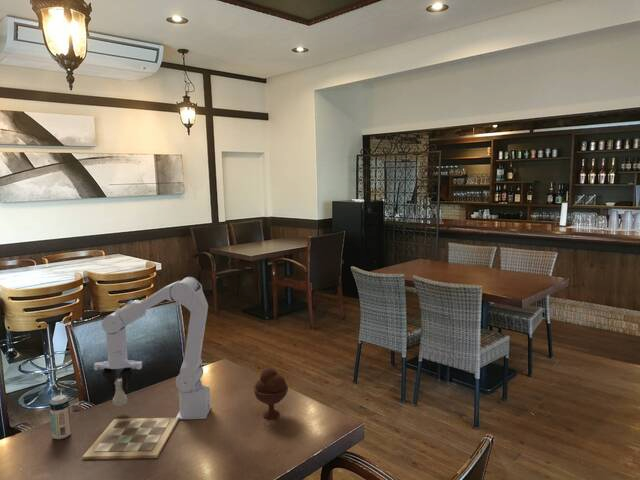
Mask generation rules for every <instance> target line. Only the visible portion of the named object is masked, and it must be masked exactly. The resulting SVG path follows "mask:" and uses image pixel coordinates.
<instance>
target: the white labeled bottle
mask: <svg viewBox="0 0 640 480" xmlns="http://www.w3.org/2000/svg"><path fill="white" fill-rule="evenodd" d="M49 411H50V412H49V413H50V423H51V434H52V435H51V436H52V438H53V439H55V440H64V439H65V438H68V436H70V435H71V434H72V426H71V425H72V424H71V414H70V402H69V397H68V396H67V395H66V394H62V393H61V394H56V395H55V396H52V397H51V399H50V401H49Z"/></svg>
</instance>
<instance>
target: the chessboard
mask: <svg viewBox="0 0 640 480" xmlns="http://www.w3.org/2000/svg"><path fill="white" fill-rule="evenodd" d="M179 420H180V419H179V418H176V417H149V418H148V417H144V418H143V417H142V418H141V417H140V418H138V417H136V418H135V417H134V418H114V419H113V420H112V421H111V422H110V423H109V425H108V426H107V427H106V428H105V429H104V431H102V432H101V434H100V435H99V436H98V437H97V439H96V440H95V441H94V442H93V443H92V444H91V446H90V447H89V448H88V450H87V451H86V452H85V453H84V454H83V455H82V460H111V459H112V460H115V459H116V460H118V459H123V460H125V459H157V458H158V457H159V455H160V454H161V452H162V450H163V448H164V447H165V445H166V443H167V442H168V439H169V438H170V436H171V434H172V433H173V431H174V429H175V427H176V425H177V424H178V422H179Z"/></svg>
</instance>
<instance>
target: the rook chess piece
mask: <svg viewBox="0 0 640 480" xmlns="http://www.w3.org/2000/svg"><path fill="white" fill-rule="evenodd" d="M114 384H115V391H114V396H113V397H112V405H113V406H117V407H121V406H124V405H125V404H126V403H127V402H128V397H127V395H126V394H125V392H123V381H122V377H120V378H119V377H117V378H116V379H115V382H114Z"/></svg>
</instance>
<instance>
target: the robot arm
mask: <svg viewBox="0 0 640 480" xmlns="http://www.w3.org/2000/svg"><path fill="white" fill-rule="evenodd" d="M165 300H166V301H170V302H172V301H175V302H176V303H178V304H180V305H182V306H184V308H186V309H187V310H188V311H189V312H190V315H189V316H190V317H189V321H188V329H187V336H186V343H185V349H184V356H183V361H182V364H181V367H180V370H179V374H178V375H177V376H176V378H175V386H176V388H177V389H178V404H179V411H178V413H177V415H176V416H175V418H179V420H205V419H207V417H208V415H209V412H210V410H211V408H212V406H211V389H210V387H209V386H207V385H206V386H205V385H203V383H202V381H201V378H202V377H203V375H204V368H203V364H202V363H203V360H202V358H201V356H202V350H203V343H204V336H205V331H206V323H207V318H208V309H209V304H208V301H207V299H206V296H205V293H204V291H203V285H202V284H201V283H200V282H199V281H198V280H197V279H196V278H195V277H192V276H187V277H184V278H183V279H182V280H177V281H175V282H172V283H170V284H168V285H166V286H164V287H162V288H161V289H159V290H158V291H156V292H154V293H153V294H151V295H150V296H148V297H145V298H144V299H143V300H139V299H135V300H133V299H131V300H129V301H127V303H126V305H124V306H122V307H120V308H119V307H118V308H116V309H114V312H112V313H110V314H108V315H106V316H105V317H104V318H103V320H102V322H101V327H102V329H103V331H104V332H105V336H106V337H105V338H106V349H107V350H106V351H107V360H105V361H97V362H94V364H93V370H94V371H98V370H103V371H102V373H101V374H102V376H103V377H104V379H105V380H106V382H107V383H108V385H109V388H110V391H111V392H114V393H115V384H114V382H115V379H117V378H116V377H117V370H121V371H120V376H121V377H120V378H122V381H123V392H124V393H125V392H127V391H128V390H129V385H130V379H131V376H132V374H133V371H134V369H136V370H141V369H142V368H143V361H140V360H139V361H138V360H133V359H132V360H131V359H130V360H129V359H128V348H127V347H128V345H127V332H126V329H127V328H126V327H127V326H129V325H131V324H132V323H134V322H136V321H137V320H140V319H141V318H143V317H144V316H145V315H147V310H149V309H151V307H154V306H156V305H157V304H158V305H159V304H160V303H162V302H164V301H165Z"/></svg>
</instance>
